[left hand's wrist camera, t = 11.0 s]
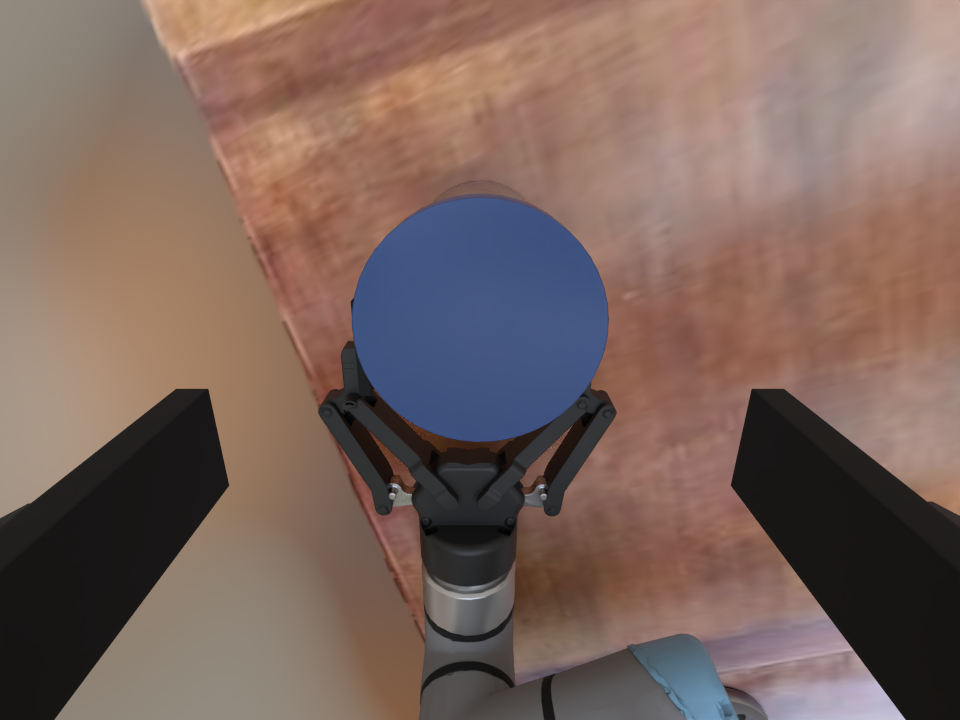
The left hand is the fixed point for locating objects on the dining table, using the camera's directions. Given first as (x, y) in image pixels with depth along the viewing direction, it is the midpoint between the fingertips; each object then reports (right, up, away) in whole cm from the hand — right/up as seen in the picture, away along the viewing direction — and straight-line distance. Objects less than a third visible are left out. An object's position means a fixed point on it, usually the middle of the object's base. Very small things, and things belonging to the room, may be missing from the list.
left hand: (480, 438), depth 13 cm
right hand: (-1, +6, +21) cm, 22 cm away
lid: (0, +3, +8) cm, 9 cm away
